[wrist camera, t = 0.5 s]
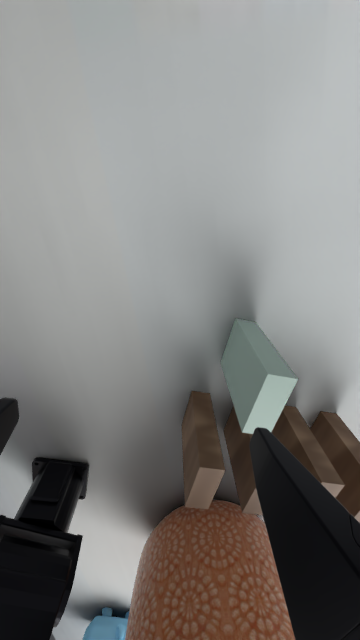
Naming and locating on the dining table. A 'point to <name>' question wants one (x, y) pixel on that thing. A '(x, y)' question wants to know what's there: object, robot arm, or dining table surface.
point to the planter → (208, 579)
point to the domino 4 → (306, 448)
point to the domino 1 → (201, 452)
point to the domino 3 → (242, 465)
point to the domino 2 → (255, 377)
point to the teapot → (107, 627)
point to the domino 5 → (341, 457)
